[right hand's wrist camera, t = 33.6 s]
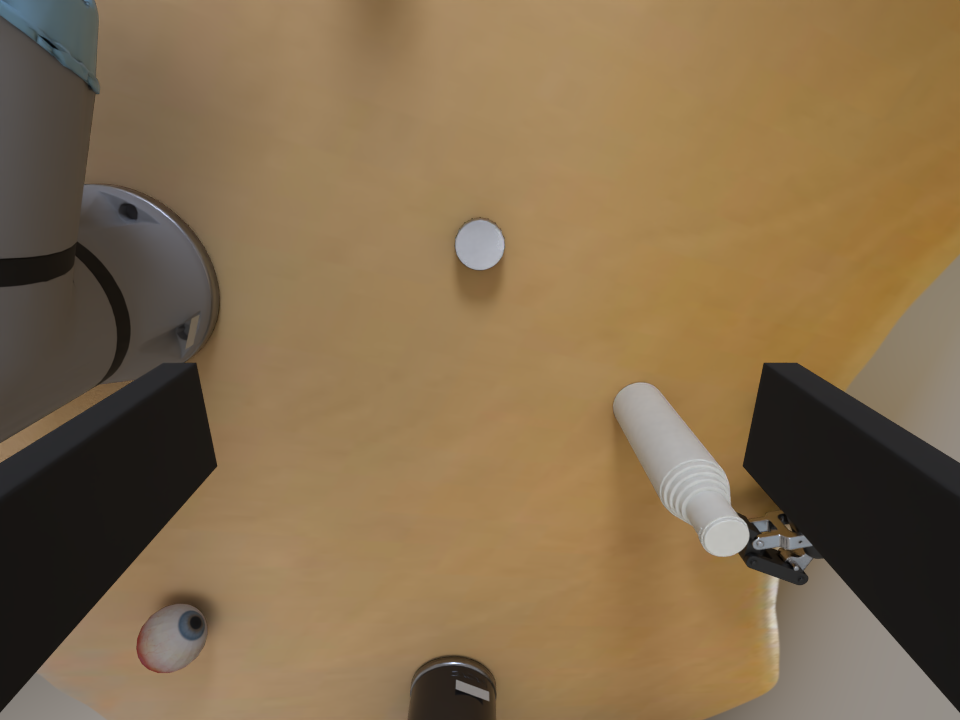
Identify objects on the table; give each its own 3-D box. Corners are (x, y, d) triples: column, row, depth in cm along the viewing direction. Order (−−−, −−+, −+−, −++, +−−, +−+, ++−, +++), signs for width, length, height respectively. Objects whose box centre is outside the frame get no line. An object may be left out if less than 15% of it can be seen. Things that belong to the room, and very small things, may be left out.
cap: (467, 273, 42) (466, 278, 40) (447, 228, 40) (445, 231, 38) (511, 255, 41) (512, 259, 39) (492, 208, 40) (493, 210, 38)
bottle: (605, 394, 45) (677, 523, 29) (653, 374, 45) (755, 494, 28) (622, 434, 47) (700, 580, 30) (669, 416, 46) (775, 554, 30)
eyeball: (232, 616, 54) (203, 668, 48) (190, 643, 55) (158, 697, 50) (189, 579, 52) (154, 629, 47) (147, 608, 53) (108, 659, 48)
